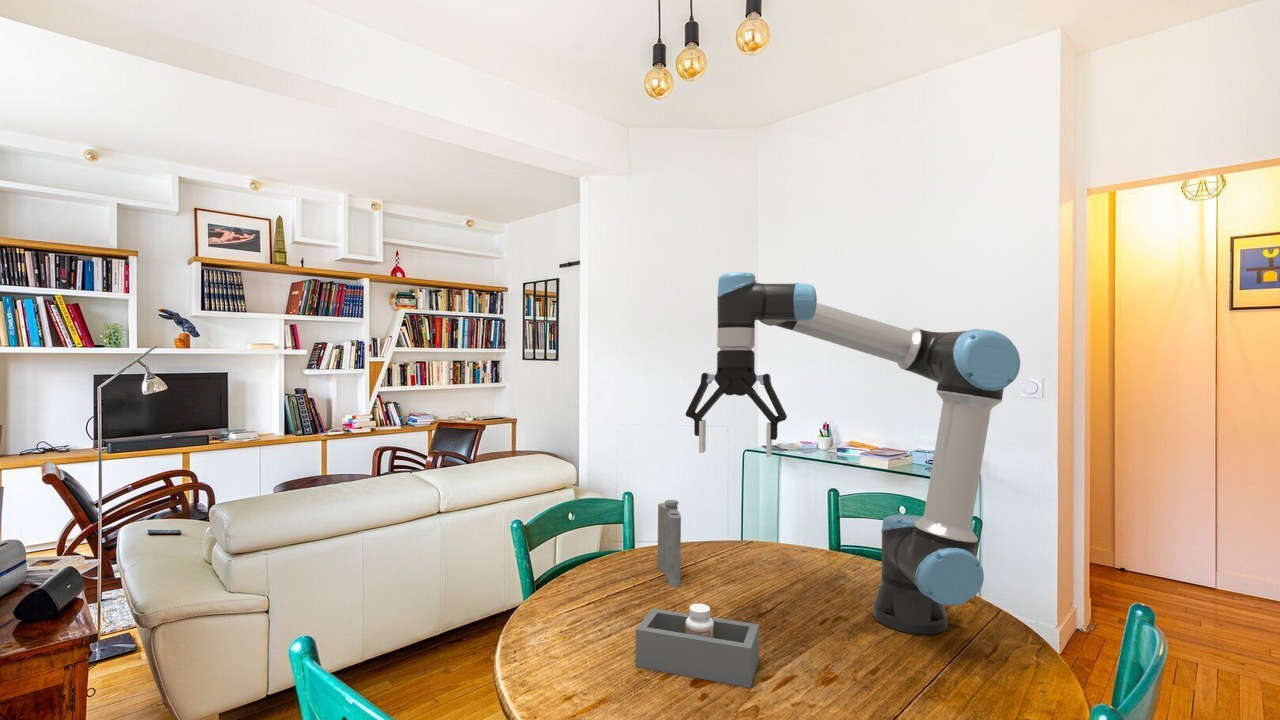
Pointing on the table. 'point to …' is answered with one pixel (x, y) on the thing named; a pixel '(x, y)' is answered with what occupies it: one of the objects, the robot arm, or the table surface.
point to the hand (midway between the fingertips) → (735, 454)
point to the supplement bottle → (699, 621)
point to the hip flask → (669, 541)
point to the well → (698, 648)
